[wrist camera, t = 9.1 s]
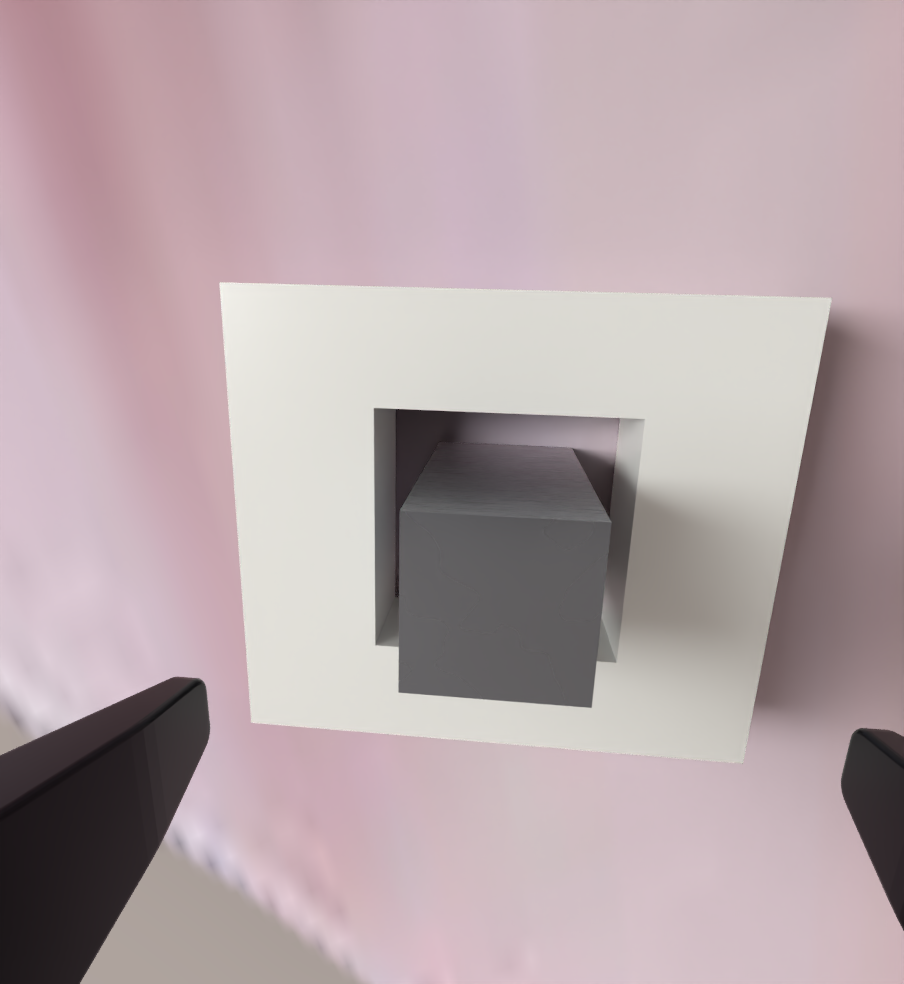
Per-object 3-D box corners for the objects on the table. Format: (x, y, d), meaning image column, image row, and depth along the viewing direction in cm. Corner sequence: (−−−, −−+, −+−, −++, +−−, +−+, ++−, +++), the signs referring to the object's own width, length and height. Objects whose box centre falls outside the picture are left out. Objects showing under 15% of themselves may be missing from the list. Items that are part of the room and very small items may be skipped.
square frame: (772, 303, 18) (832, 297, 15) (707, 697, 22) (743, 763, 19) (268, 290, 20) (219, 282, 16) (287, 665, 23) (251, 722, 20)
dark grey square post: (571, 447, 20) (611, 522, 12) (561, 570, 21) (591, 707, 14) (439, 441, 21) (399, 511, 13) (436, 563, 22) (398, 692, 14)
